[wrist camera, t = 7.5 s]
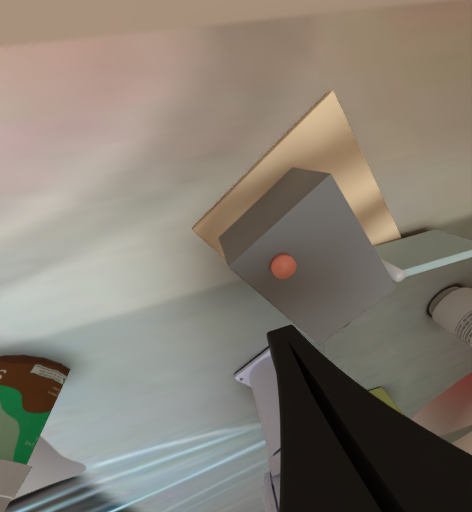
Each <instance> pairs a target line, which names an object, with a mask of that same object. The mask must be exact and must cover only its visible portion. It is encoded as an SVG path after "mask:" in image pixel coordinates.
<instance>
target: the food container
mask: <svg viewBox="0 0 472 512" xmlns="http://www.w3.org/2000/svg"><path fill="white" fill-rule="evenodd" d="M69 371H70V369H68V368H67V367H65V366H63V365H62V364H59V363H57V362H54V361H51V360H48V359H45V358H40V357H33V356H26V355H18V356H2V357H0V512H4V511H5V509H6V507H7V505H8V504H9V502H10V500H11V499H12V498H14V497H15V495H16V494H17V492H18V490H19V489H20V487H21V485H22V484H23V482H24V480H25V478H26V477H27V475H28V473H29V472H30V470H31V468H32V467H31V466H28V465H27V462H28V460H29V458H30V456H31V454H32V452H33V449H34V447H35V445H36V443H37V441H38V439H39V436H40V434H41V432H42V430H43V428H44V426H45V423H46V421H47V419H48V417H49V415H50V412H51V410H52V408H53V406H54V404H55V402H56V399H57V397H58V395H59V393H60V391H61V389H62V386H63V384H64V382H65V380H66V378H67V375H68V373H69Z"/></svg>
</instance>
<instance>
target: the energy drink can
mask: <svg viewBox="0 0 472 512" xmlns="http://www.w3.org/2000/svg"><path fill="white" fill-rule="evenodd" d="M429 312H430V314H431V315H432V318H433V320H434V321H435V322H436V323H437V324H439V325H440V326H442V327H443V328H445V329H446V330H447V331H449V332H450V333H452V334H453V335H455V336H456V337H458V338H459V339H460V340H462V341H463V342H465V343H466V344H468V345H469V346H470V347H472V289H471V288H467V287H465V288H459V287H451V288H448V289H446V290H444V291H442V292H441V293H440V294H438V295H437V296H436V297H435V298H434V300H433V301H432V302H431V304H430V307H429Z"/></svg>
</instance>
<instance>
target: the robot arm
mask: <svg viewBox="0 0 472 512" xmlns="http://www.w3.org/2000/svg"><path fill="white" fill-rule="evenodd" d="M267 339H268V344H269V348H268V349H267V350H266V351H264V352H263V353H262V354H261V355H259V356H258V357H257V358H255V359H254V360H253V361H252V362H250V363H249V364H248V365H246V366H245V367H244V368H243V369H241V370H240V371H239V372H238V373H236V374H235V379H236V380H237V381H239V382H241V383H243V384H245V385H247V386H249V387H251V388H252V392H253V396H254V399H255V403H256V407H257V411H258V414H259V418H260V422H261V426H262V430H263V433H264V437H265V441H266V445H267V449H268V452H269V456H270V458H268V463H269V467H270V471H271V472H267V473H265V475H264V480H263V483H262V498H263V505H264V510H265V512H472V455H470V454H469V453H467V452H465V451H463V450H461V449H459V448H458V447H456V446H454V445H453V444H451V443H449V442H447V441H446V440H444V439H442V438H440V437H439V436H437V435H435V434H434V433H432V432H430V431H428V430H427V429H425V428H424V427H422V426H420V425H419V424H417V423H416V422H414V421H412V420H411V419H409V418H408V417H406V416H405V415H403V414H401V413H400V412H398V411H397V410H395V409H394V408H392V407H390V406H389V405H387V404H386V403H385V402H383V401H382V400H380V399H379V398H377V397H376V396H374V395H373V394H372V393H370V392H369V391H367V390H366V389H365V388H363V387H362V386H361V385H359V384H358V383H357V382H355V381H354V380H353V379H351V378H350V377H349V376H348V375H346V374H345V373H344V372H343V371H341V370H340V369H339V368H338V367H336V366H335V365H334V364H333V363H332V362H331V361H329V360H328V359H327V358H326V357H325V356H324V355H323V354H322V353H320V352H319V351H318V350H317V349H316V348H315V347H314V346H313V345H312V344H311V343H310V342H309V341H308V340H307V339H306V338H305V337H304V336H303V335H302V334H301V333H300V332H299V331H298V330H297V329H296V328H295V327H294V326H293V325H289V326H285V327H282V328H279V329H276V330H273V331H270V332H268V333H267Z"/></svg>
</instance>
